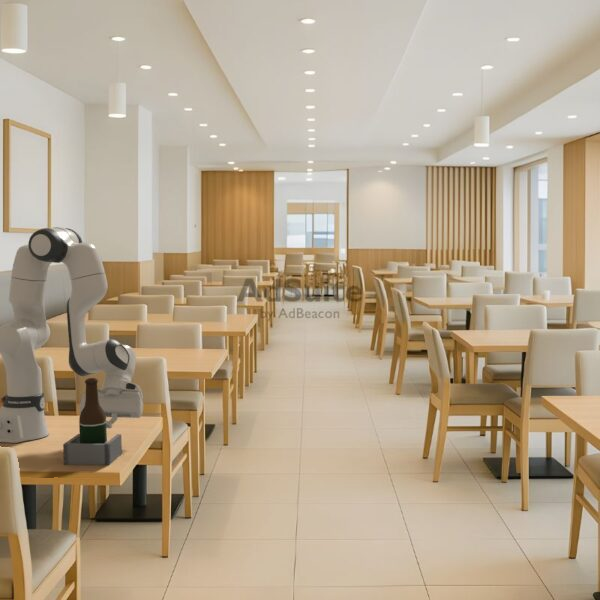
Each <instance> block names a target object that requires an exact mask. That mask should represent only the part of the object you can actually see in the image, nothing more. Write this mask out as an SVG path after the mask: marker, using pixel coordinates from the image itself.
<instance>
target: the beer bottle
mask: <svg viewBox="0 0 600 600" xmlns="http://www.w3.org/2000/svg"><path fill="white" fill-rule="evenodd" d="M98 382H99V381H98V378H95V377H90V378H86V379H85V381H84V383H85V392H86V401H85V407H84V408H83V410H82V411H81V414H80V413H79V414H80V415H79V420H78V422H79V423H78V424H79V425H78V427H79V434H80V443H88V444H106V443H107V442H108V440H107V437H108V436H107V435H108V434H107V433H108V432H107V428H106V421H107V417H106V415H105V413H104V410H103V409H102V407H101V406H100V404H99V398H98V390H99V389H98Z"/></svg>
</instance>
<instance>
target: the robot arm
mask: <svg viewBox="0 0 600 600" xmlns="http://www.w3.org/2000/svg"><path fill="white" fill-rule="evenodd" d="M52 263H55V264H60V263H63V264H64V265H65V266H66V268H67V271H68V274H69V278H70V282H71V294H70V297H69V299H67V302H66V320H67V333H68V346H69V347H68V348H69V351H68V365H69V367H70V369H71V370H72V372H74V373H75V374H77V375H78V376H79V377H86V376H90V375H92V374H95V373H100V372H105V373H106V375H105V377H104V379H103V383H102V387H101V389H98V398H99V404H100V406H101V407H102V409H103V410H104V413H105V415H106V418H110V419H109V420H106V429H112V427H113V424H115V423H116V422H117V421H118V418H127V419H129V418H131V419H135V418H136V419H138V418H139V419H140V418H141V417H142V415H143V411H144V401H143V398H144V395H143V391H142V389H141V387H140V386H139V385H138V384H136V383H132V379H133V377H134V375H135V371H136V364H137V363H136V362H137V355H136V351H135V350H134V348H133V347H132V346H129V345H127V344H122V343H120V342H119V341H118V340H117V339H114V338H113V339H112V338H110V339H104V340H99V341H98V342H92V343H88V342H87V337H86V324H85V321H86V320H85V318H86V315H87V314H88V312H89V311H90V310H91V309H92V308H94V307H95V306H96V305H97V304H99V303H100V302H101V301H102V300H103V299H104V298H105V296H106V294H107V291H108V285H109V284H108V279H107V275H106V271H105V267H104V264H103V261H102V258H101V256H100V254H99V251H98V249H97V247H96V246H95V245H94V244H93V243H89V242H83V239H82V237H81V236H80V234H79V233H78V232H76V230H73V229H71V228H68V227H66V228H64V227H57V226H56V227H55V226H54V227H45V228H40V229H37V230H36V231H34V232H33V233H32V234H31V236H30V237H29V240H28V244H24V245H22V246H20V247H18V248H17V251H16V253H15V257H14V260H13V263H12V264H13V265H12V270H11V277H10V284H9V295H8V301H9V303H10V304H11V306H12V310H13V321H9V322H6V323H4V324H2V325H1V326H0V356H1V358H2V362H3V366H4V368H5V375H6V376H5V377H6V391H7V392H6V393H7V394H5V395H4V396H3V397H1V398H0V403H2V405H1V407H0V443H13V444H15V443H22V442H26V441H33V440H37V439H41V438H45V437H47V436H49V434H50V432H49V429H48V426H47V422H46V416H45V411H44V410H45V406H46V405H45V402H46V401H45V395H44V394H45V393H44V392H43V378H42V375H43V374H42V369H41V367H40V366H39V365H38V362H37V359H36V356H35V350H37V349H38V350H39V349H40V348H42V347H43V346H44V345H45V344H46V343H47V342H48V341H49V339H50V336H51V328H50V327H49V326H50V325H49V324H48V323H47V318H46V310H45V308H46V307H45V301H46V299H45V298H46V289H47V282H48V281H47V279H48V270H49V267H50V265H51V264H52ZM85 401H86V391H85V392H83V393H82V397H81V400H80V403H79V404H78V405H79V406H78V408H77V409H78V412H79V414H81V411H82V410H83V408H84V407H85Z"/></svg>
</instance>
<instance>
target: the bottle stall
mask: <svg viewBox="0 0 600 600" xmlns="http://www.w3.org/2000/svg"><path fill="white" fill-rule="evenodd" d="M122 445H123V444H122V434H115V436H113V437H112V438H110V440H107V443H106V444H88V443H80V433H78V434H76V435H74V436H73V437H72V438H70V439H69V440H67V441H65V442H64V443H63V445H62V446H63V447H62V448H63V450H62V451H63V465H65V466H66V465H67V466H69V465H70V466H71V465H72V466H76V465H78V466H110V465H111V464H112V463H113V462H115V460H117V459H118V458H119V457H120V456H121V455H122V454H123V449H122V448H123V447H122Z"/></svg>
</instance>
